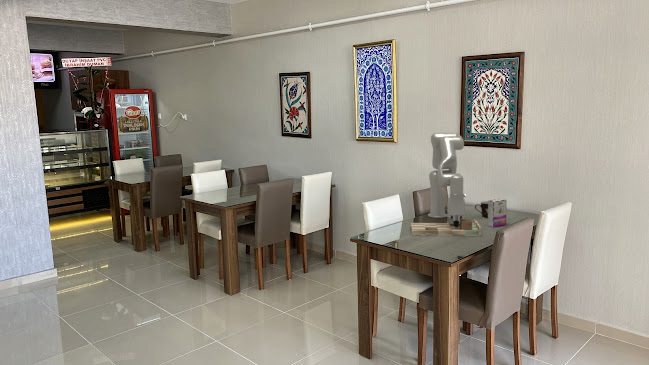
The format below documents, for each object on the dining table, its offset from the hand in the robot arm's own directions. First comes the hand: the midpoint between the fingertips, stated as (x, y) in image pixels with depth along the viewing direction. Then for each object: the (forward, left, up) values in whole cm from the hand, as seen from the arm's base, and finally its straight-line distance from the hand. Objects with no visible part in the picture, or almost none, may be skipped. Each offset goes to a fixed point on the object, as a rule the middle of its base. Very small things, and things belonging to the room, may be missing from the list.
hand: (456, 227), depth 287 cm
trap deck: (-4, -7, -4) cm, 9 cm away
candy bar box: (-20, +27, -4) cm, 34 cm away
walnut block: (0, +6, -1) cm, 6 cm away
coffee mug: (-44, +24, -4) cm, 50 cm away
